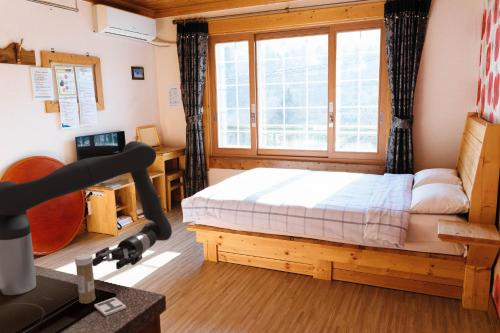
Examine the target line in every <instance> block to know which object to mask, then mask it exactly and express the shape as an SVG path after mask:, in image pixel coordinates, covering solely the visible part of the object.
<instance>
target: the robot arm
mask: <svg viewBox="0 0 500 333" xmlns="http://www.w3.org/2000/svg"><path fill="white" fill-rule="evenodd" d="M156 159H157V152H156V150H155V148H154V147H153V146H151V145H150V144H148V143H146V142H142V141H137V140H133V141H129V142H128V143H126V144H125V145H124V147H123V149H122V152H119V153H117V154H113V155H112V154H111V155H102V156H101V155H100V156H95V157H88V158H84V159H79V160H77V161H73V162H71V163H68V164H65V165H62V166H61V167H59V168H57V169H55V170H54V171H51V172H50V173H47V175H45V176H43V177H39V178H36V179H33V180H29V181H25V182H21V183H17V182H15V181H11V180H4V181H1V182H0V288H1V293H2V294H3V295H4V296H5V295H6V296H16V295H22V294H25V293H28V292H30V291H32V290H34V289H35V288H36V287H37V279H36V268H35V259H34V258H35V257H34V248H33V240H32V232H31V223H30V221H29V217H28V214H27V213H28V212H27V211H28V210H30V209H32V208H34V207H35V208H36V207H37V206H39V205H41V204H43V203H45V202H48V201H50V200H53V199H57V198H60V197H65V196H66V195H70V194H73V193H75V192H80V191H82V190H85V189H88V188H90V187H93V186H96V185H99V184H101V183H104V182H106V181H109V180H112V179H114V178H117V177H119V176H122V175H125V174H129V173H130V176H131V178H132V181H133V183H134V186H135V189H136V191H137V196H138V198H139V199H138V200H139V202H140V206H141V209H142V213H143V216H144V219H145V220H148V221H150V222H147V223H145V225H144V226H143V227H142V228H141V230H140V231H138V232H136V233H132V235H129V236H127V237H126V238H124V239H123V240H122V241H120V242H119V243H118V245H117V247H115V248H113V249H110V247H109V246H106V247H105V248H103V249H100V250H98V251H96V252H95V254H94V255H95V258H93V262H92V267H96V266H98V265H100V264H101V263H104V262H113V261H116V263H115V267H116V270H120V269H122V268H124V267H125V266H129V265H131V266H134V265H136V264H138V262H140V261H141V260H143V254H144V253H146V252H147V251H148V249H149V250H150V248H151V247H154V245H155V244H156V242H158V241H160V242H161V241H162V242H163V241H167V240H169V239H170V238H171V236H172V234H173V230H172V226H171V223H170V220H169V219H168V218H167V216H166V214H165V212H164V211H163V208H162V203H161V200H160V196H159V194H158V192H157V189H156V187H155V185H154V184H153V182H152V180H151V178H150V175H149V171H148V168H150V167H151V166H152V165H153V164H154V163H155V161H156ZM110 256H111V257H110Z"/></svg>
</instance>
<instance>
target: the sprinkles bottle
mask: <svg viewBox="0 0 500 333" xmlns="http://www.w3.org/2000/svg"><path fill="white" fill-rule="evenodd" d="M93 259H94V258H93V255H92V254H91V253H81V254H79V255H77V256H75V258H74V261H75V263H74V264H75V268H76V280H77V281H76V282H77V290H78V302H79V303H81V304H83V303H84V304H85V305H86V304H90V303H92V302H94V301H96V293H95V291H96V290H95V279H94V271H93V270H94V269H93V268H94V267H93V265H92V262H93Z"/></svg>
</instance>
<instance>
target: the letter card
mask: <svg viewBox="0 0 500 333" xmlns="http://www.w3.org/2000/svg"><path fill="white" fill-rule="evenodd" d="M94 308H95V309H97V311H99V312H100V313H101V314H102V315H103V316H105V317H107V316H109V315H110V316H111V315H112V314H115V313H118V312H120V311H122V310H125V309H126V308H127V305H125V304H124V302H121V301H120V299H118V298H116V297H115V296H114V297H112V298H109V299H106V300H104V301H101V302H98V303H94Z"/></svg>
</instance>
